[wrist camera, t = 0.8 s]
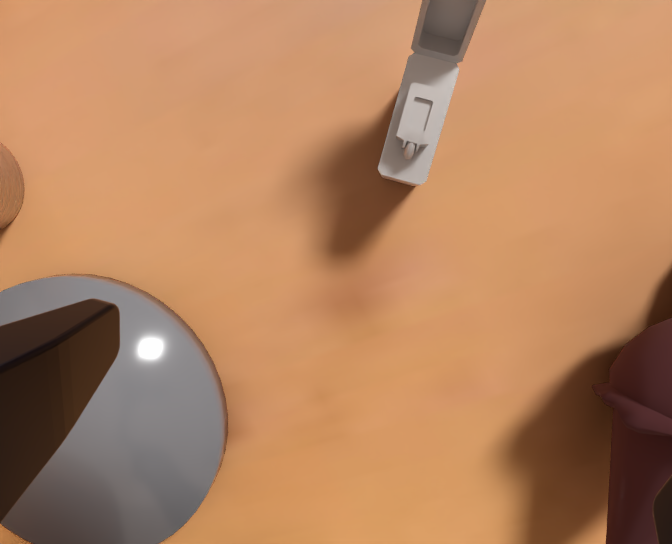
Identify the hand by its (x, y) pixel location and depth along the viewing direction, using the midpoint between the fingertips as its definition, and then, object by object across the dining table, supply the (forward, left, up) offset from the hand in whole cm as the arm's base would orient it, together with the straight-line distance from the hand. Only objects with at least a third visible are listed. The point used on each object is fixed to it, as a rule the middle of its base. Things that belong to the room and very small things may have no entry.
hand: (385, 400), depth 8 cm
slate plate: (-15, +5, -15) cm, 22 cm away
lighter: (+6, +4, -15) cm, 17 cm away
